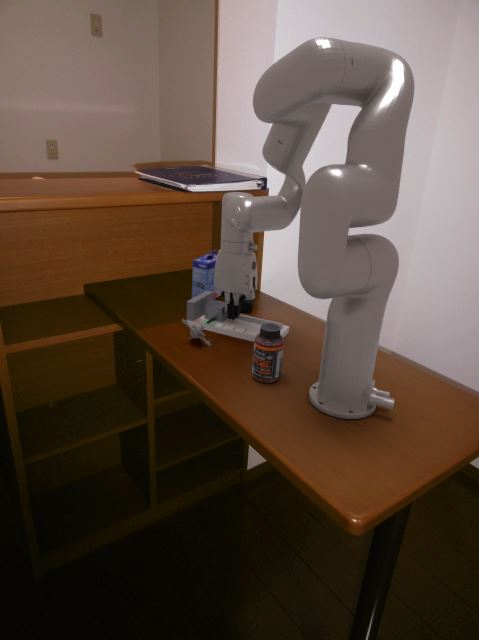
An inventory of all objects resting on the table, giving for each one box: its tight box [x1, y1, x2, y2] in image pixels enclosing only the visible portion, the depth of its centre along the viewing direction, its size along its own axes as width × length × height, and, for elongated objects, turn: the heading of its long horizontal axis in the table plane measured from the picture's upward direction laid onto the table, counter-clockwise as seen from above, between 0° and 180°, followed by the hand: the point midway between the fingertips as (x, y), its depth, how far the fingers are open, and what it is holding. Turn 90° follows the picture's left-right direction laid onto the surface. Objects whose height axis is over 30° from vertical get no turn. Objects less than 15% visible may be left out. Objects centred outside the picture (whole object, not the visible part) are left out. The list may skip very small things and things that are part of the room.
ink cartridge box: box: [191, 249, 221, 300], centre depth 133 cm, size 10×6×14 cm, turn 155°
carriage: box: [205, 299, 228, 323], centre depth 116 cm, size 5×7×4 cm
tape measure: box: [234, 293, 256, 312], centre depth 128 cm, size 7×7×4 cm
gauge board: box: [186, 291, 290, 343], centre depth 114 cm, size 24×10×6 cm, turn 64°
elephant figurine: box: [181, 318, 213, 347], centre depth 107 cm, size 9×6×8 cm
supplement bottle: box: [251, 323, 285, 384], centre depth 91 cm, size 6×6×11 cm
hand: (233, 317), depth 115 cm, fingers closed
